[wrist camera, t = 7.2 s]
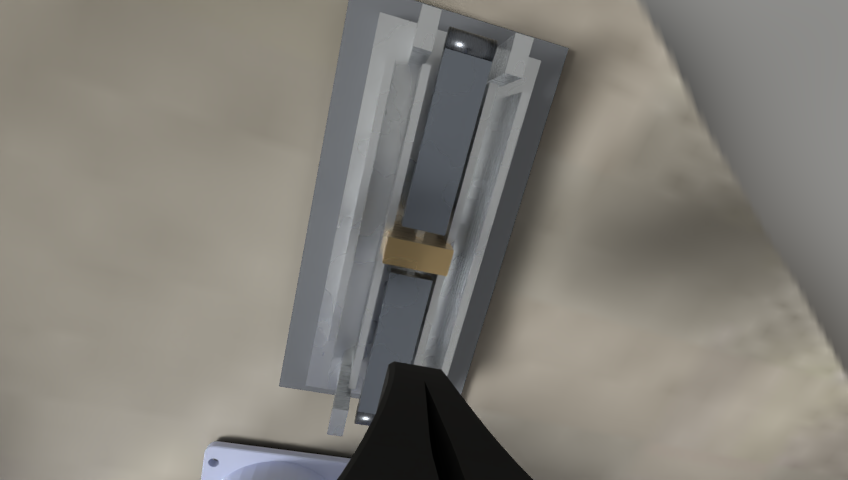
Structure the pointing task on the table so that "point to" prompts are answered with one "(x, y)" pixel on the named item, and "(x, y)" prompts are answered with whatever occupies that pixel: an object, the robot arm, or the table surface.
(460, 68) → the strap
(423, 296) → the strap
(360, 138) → the grey slide rail
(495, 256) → the slate board
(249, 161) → the table surface
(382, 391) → the robot arm
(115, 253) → the table surface
